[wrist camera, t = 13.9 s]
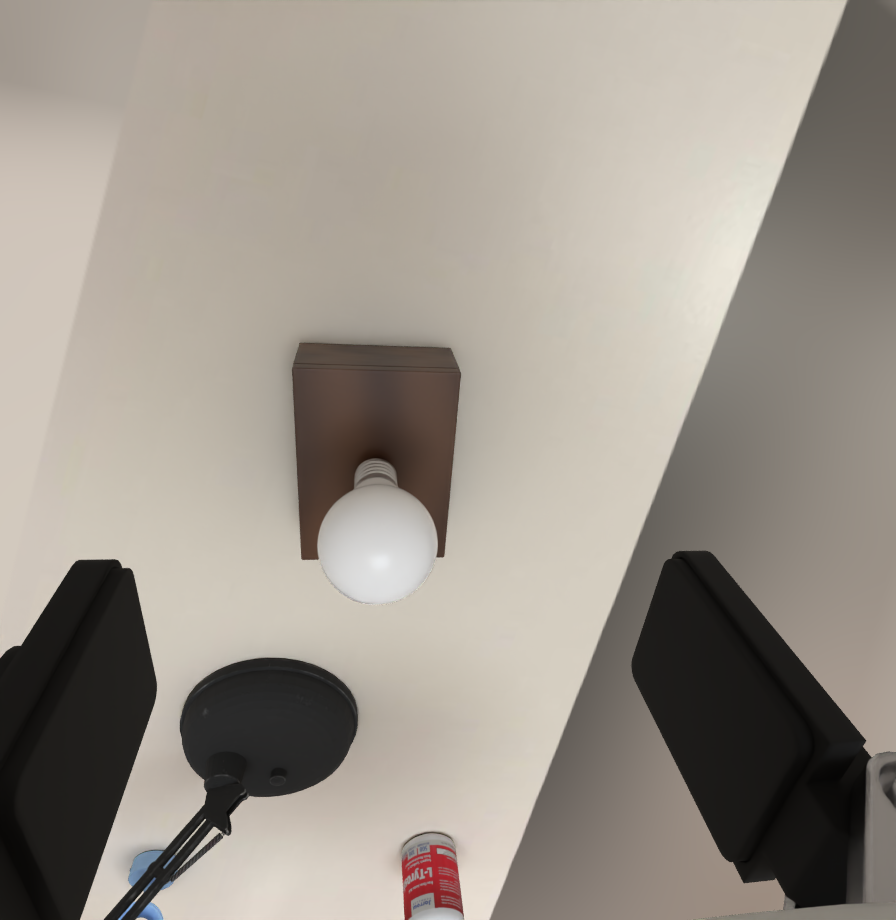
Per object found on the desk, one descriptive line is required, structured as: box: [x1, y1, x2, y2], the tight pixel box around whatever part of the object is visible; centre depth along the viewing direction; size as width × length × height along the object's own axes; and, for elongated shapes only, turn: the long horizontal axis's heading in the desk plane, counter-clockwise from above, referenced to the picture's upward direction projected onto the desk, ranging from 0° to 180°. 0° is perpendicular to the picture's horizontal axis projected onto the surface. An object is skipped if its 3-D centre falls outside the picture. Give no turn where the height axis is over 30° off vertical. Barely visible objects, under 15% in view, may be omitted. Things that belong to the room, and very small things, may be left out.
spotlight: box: [118, 850, 178, 920], centre depth 59 cm, size 5×10×7 cm
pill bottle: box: [402, 833, 464, 920], centre depth 64 cm, size 6×6×11 cm
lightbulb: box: [317, 458, 438, 605], centre depth 34 cm, size 6×6×11 cm
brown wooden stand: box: [292, 343, 461, 560], centre depth 41 cm, size 10×14×5 cm
